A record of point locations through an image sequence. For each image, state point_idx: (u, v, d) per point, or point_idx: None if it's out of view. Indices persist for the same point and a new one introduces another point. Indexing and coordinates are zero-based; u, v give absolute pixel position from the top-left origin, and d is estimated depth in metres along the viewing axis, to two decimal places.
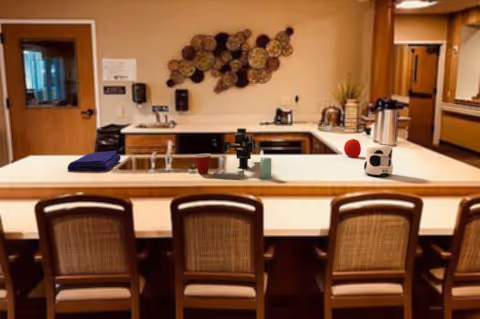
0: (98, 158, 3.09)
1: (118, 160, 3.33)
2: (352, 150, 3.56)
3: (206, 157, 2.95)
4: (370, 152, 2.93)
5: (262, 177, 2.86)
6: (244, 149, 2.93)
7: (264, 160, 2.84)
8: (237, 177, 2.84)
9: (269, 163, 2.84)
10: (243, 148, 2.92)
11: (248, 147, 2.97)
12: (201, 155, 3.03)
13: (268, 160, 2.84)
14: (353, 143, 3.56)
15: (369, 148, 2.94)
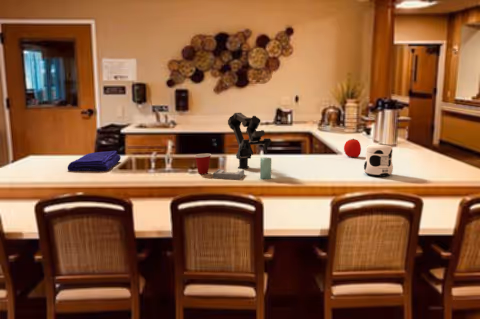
0: (98, 158, 3.09)
1: (118, 160, 3.33)
2: (352, 150, 3.56)
3: (206, 157, 2.95)
4: (370, 152, 2.93)
5: (262, 177, 2.86)
6: (266, 151, 2.97)
7: (264, 160, 2.84)
8: (237, 177, 2.84)
9: (269, 163, 2.84)
10: None
11: None
12: (201, 155, 3.03)
13: (268, 160, 2.84)
14: (353, 143, 3.56)
15: (369, 148, 2.94)
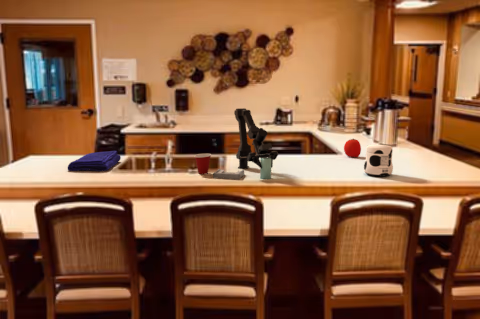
0: (98, 158, 3.09)
1: (118, 160, 3.33)
2: (352, 150, 3.56)
3: (206, 157, 2.95)
4: (370, 152, 2.93)
5: (262, 177, 2.86)
6: None
7: (264, 160, 2.84)
8: (237, 177, 2.84)
9: (269, 163, 2.84)
10: None
11: None
12: (201, 155, 3.03)
13: (268, 160, 2.84)
14: (353, 143, 3.56)
15: (369, 148, 2.94)
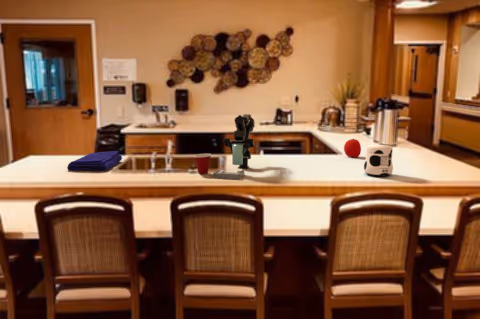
0: (98, 158, 3.09)
1: (119, 160, 3.33)
2: (352, 150, 3.56)
3: (206, 157, 2.95)
4: (370, 152, 2.93)
5: (232, 162, 2.96)
6: (244, 152, 2.95)
7: (233, 146, 2.93)
8: (237, 177, 2.84)
9: (238, 149, 2.92)
10: (243, 153, 2.94)
11: (247, 145, 2.97)
12: (201, 155, 3.03)
13: (236, 146, 2.92)
14: (353, 143, 3.56)
15: (369, 148, 2.94)
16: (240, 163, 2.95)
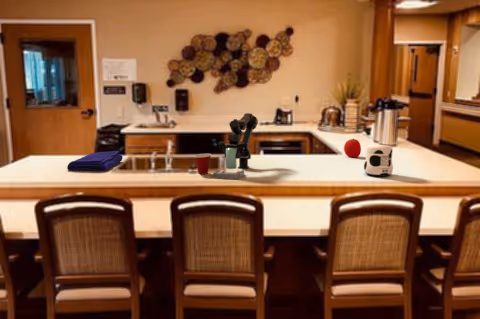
0: (98, 158, 3.09)
1: (120, 160, 3.33)
2: (352, 150, 3.56)
3: (206, 157, 2.95)
4: (370, 152, 2.93)
5: (226, 166, 2.95)
6: (237, 156, 2.93)
7: (226, 150, 2.92)
8: (237, 177, 2.84)
9: (230, 153, 2.91)
10: (236, 157, 2.92)
11: (241, 149, 2.95)
12: (201, 155, 3.03)
13: (229, 150, 2.91)
14: (353, 143, 3.56)
15: (369, 148, 2.94)
16: (233, 167, 2.93)
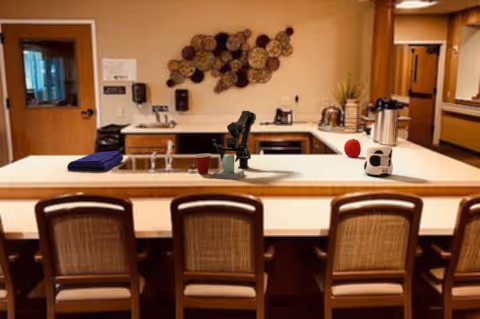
0: (97, 158, 3.09)
1: (120, 160, 3.32)
2: (352, 150, 3.56)
3: (206, 157, 2.95)
4: (370, 152, 2.93)
5: None
6: (237, 159, 2.89)
7: (224, 156, 2.89)
8: (237, 177, 2.84)
9: (228, 160, 2.88)
10: (236, 160, 2.88)
11: (241, 153, 2.91)
12: (201, 155, 3.03)
13: (227, 157, 2.88)
14: (353, 143, 3.56)
15: (369, 148, 2.94)
16: None
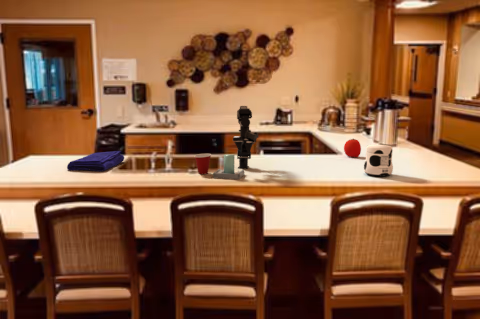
0: (97, 158, 3.09)
1: (121, 160, 3.32)
2: (352, 150, 3.56)
3: (206, 157, 2.95)
4: (370, 152, 2.93)
5: None
6: None
7: (224, 156, 2.89)
8: (237, 177, 2.84)
9: (228, 160, 2.88)
10: (249, 152, 3.04)
11: None
12: (201, 155, 3.03)
13: (227, 157, 2.88)
14: (353, 143, 3.56)
15: (369, 148, 2.94)
16: None
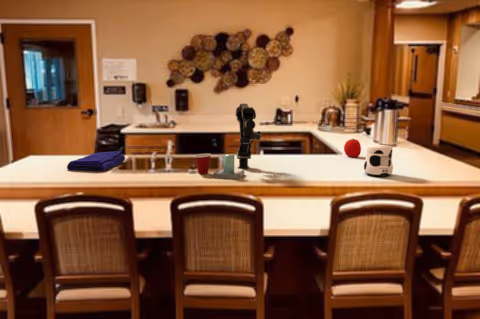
0: (97, 158, 3.09)
1: (122, 160, 3.32)
2: (352, 150, 3.56)
3: (206, 157, 2.95)
4: (370, 152, 2.93)
5: None
6: None
7: (224, 156, 2.89)
8: (237, 177, 2.84)
9: (228, 160, 2.88)
10: (249, 150, 3.05)
11: None
12: (201, 155, 3.03)
13: (227, 157, 2.87)
14: (353, 143, 3.56)
15: (369, 148, 2.94)
16: None
